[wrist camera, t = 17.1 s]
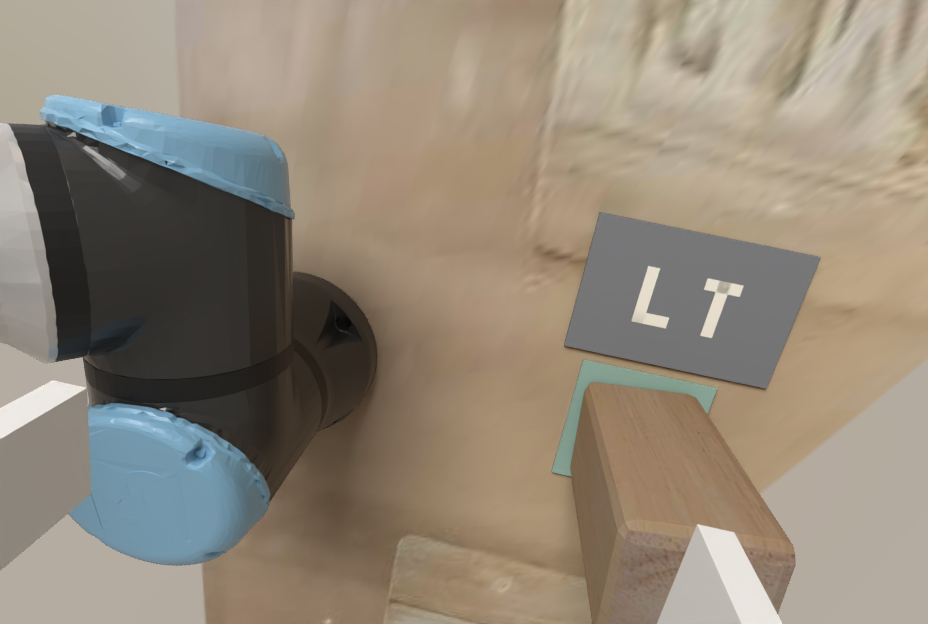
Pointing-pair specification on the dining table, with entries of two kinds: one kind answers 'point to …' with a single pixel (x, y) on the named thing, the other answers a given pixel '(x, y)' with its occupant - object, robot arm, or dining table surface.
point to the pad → (618, 377)
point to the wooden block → (660, 500)
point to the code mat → (688, 300)
